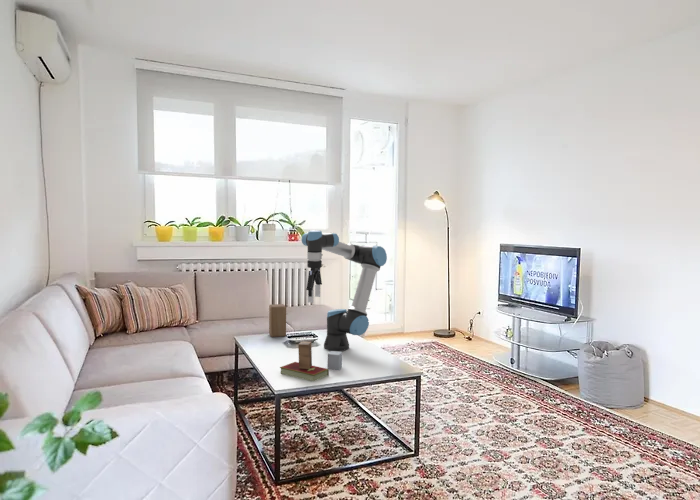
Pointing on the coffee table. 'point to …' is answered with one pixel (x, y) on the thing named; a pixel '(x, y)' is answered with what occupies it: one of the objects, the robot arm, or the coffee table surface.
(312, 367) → the hardcover book
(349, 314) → the robot arm
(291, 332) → the coffee table surface
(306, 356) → the walnut block
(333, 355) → the grey block
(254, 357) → the coffee table surface
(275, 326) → the block
